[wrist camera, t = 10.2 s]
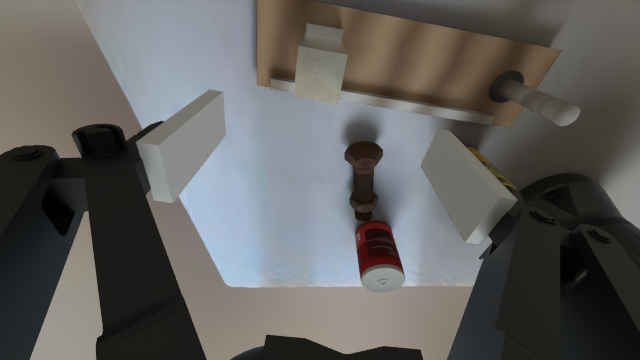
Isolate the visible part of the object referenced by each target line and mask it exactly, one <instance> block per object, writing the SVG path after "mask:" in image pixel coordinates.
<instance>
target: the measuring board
mask: <svg viewBox="0 0 640 360" xmlns="http://www.w3.org/2000/svg"><path fill="white" fill-rule="evenodd" d="M307 22H311V23H317V24H322V25H327V26H332V27H338V28H343V30H344V31H343V36H342V43H343V45H344V47H345V49H346V52H347V54H348V57H347V62H346V67H345V71H344V76H343V81H342V86H341V91H340V96H339V100H341V101H347V102H353V103H359V104H365V105H371V106H377V107H383V108H389V109H395V110H401V111H407V112H413V113H419V114H425V115H431V116H437V117H443V118H449V119H455V120H461V121H467V122H473V123H479V124H485V125H490V124H492V125H498V126H504V127H510V128H511V126H512V125H513V123H514V122H515V120H516V119H517V117H518V116H519V114H520V113H521V111H522V110H523V108H526V109H528V110H530V111H532V112H534V113H536V114H538V115H540V116H541V117H543V118H545V119H547V120H549V121H551V122H553V123H555V124H557V125H559V126H566V125H569V124H571V123H572V122H574V121H575V120H576V119H577V118H578V116H579V114H580V109H579V107H577V106H574V105H572V104H569V103H567V102H565V101H562V100H560V99H557V98H555V97H552V96H550V95H548V94H545V93H543V92H540V91H538V90H536V89H537V87H538V86H539V84H540V83H541V81H542V80H543V78H544V77H545V75H546V74H547V72H548V71H549V69H550V68H551V66H552V65H553V63H554V62H555V60H556V59H557V57H558V56H559V54H560V53H561V51H562V50H559V49H554V48H549V47H544V46H539V45H534V44H529V43H524V42H519V41H514V40H509V39H504V38H499V37H494V36H489V35H484V34H479V33H474V32H469V31H464V30H459V29H454V28H448V27H443V26H438V25H433V24H428V23H423V22H418V21H413V20H408V19H403V18H398V17H393V16H388V15H383V14H378V13H373V12H368V11H363V10H358V9H353V8H348V7H343V6H338V5H333V4H328V3H323V2H318V1H313V0H257V85H259V86H265V87H271V89H275V90H281V91H287V92H293V93H294V85H295V75H296V64H297V54H298V45H299V44H300V42H301V40H302V39H303V37H304V36H305V34H306V25H307Z"/></svg>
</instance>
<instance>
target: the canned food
mask: <svg viewBox="0 0 640 360" xmlns="http://www.w3.org/2000/svg"><path fill="white" fill-rule="evenodd" d="M355 239H356V247H357V255H358V263H359V271H360V278H361V282H362V285H363V287H364V288H365V289H367V290H369V291H372V292H377V293H385V292H391V291H394V290H396V289H398V288H399V287H401V286H402V285H403V283H404V281H405V276H404V271H403V267H402V264H401V261H400V257H399V254H398V251H397V247H396V244H395V241H394V237H393V234H392V231H391V229H390V228H389V226H388V225H387V224H385V223H383V222H380V221H369V222H366V223H364V224H362V225H361V226H359V228H358V229H357V231H356V235H355Z"/></svg>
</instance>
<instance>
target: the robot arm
mask: <svg viewBox="0 0 640 360" xmlns="http://www.w3.org/2000/svg"><path fill="white" fill-rule="evenodd" d="M225 135H226V131H225V116H224V101H223V92H221V91H215V90H208V91H207V92H205V93H204V94H203V95H201V96H200V97H198V98H197V99H196V100H194V101H193V102H191V103H190V104H189V105H187V106H186V107H184V108H183V109H182V110H180V111H179V112H177V113H176V114H175V115H173V116H172V117H170V118H169V119H168V120H166V121H165V122H164V121H160V122H157V123H154V124H151V125H149V126H148V127H146V128H145V129H143V131H140V132H139V133H137V135H134V136H133V137H131V138H130V139H128V140H127V141H126V140H125V137H124V134H123V131H122V129H121V128H120V127H119V126H116V125H111V124H94V125H88V126H84V127H81V128H78V129H77V130H75V131H73V133H72V137H73V139H74V142H75V144H76V146H77V148H78V150H79V152H80V154H81V156H82V158H59V156H58V154H57V152H56V150H55V149H54V148H52V147H49V146H45V145H33V146H22V147H17V148H14V149H12V150H10V151H7V152H5V153H3V154H1V155H0V360H30V357H31V354H32V352H33V349H34V346H35V344H36V341H37V338H38V336H39V333H40V330H41V327H42V325H43V322H44V319H45V317H46V314H47V311H48V308H49V306H50V303H51V301H52V298H53V295H54V292H55V290H56V287H57V284H58V282H59V279H60V276H61V274H62V271H63V268H64V265H65V263H66V260H67V257H68V255H69V252H70V249H71V246H72V244H73V241H74V238H75V236H76V233H77V230H78V228H79V225H80V222H81V220H82V217H83V214H84V212H85V211H88V212H89V219H90V228H91V236H92V244H93V251H94V260H95V268H96V276H97V284H98V292H99V300H100V308H101V316H102V323H103V333H102V335H101V336H99V337H98V338H97V342H96V359H97V360H206V357H205V354H204V351H203V349H202V346H201V343H200V341H199V338H198V335H197V333H196V330H195V327H194V324H193V322H192V319H191V316H190V314H189V311H188V308H187V305H186V303H185V300H184V298H183V296H182V294H181V291H180V288H179V286H178V283H177V280H176V278H175V275H174V272H173V269H172V267H171V264H170V261H169V258H168V256H167V253H166V250H165V247H164V245H163V242H162V239H161V237H160V234H159V231H158V228H157V225H156V223H155V220H154V217H153V215H152V212H151V209H150V206H149V204H148V201H147V198H146V194H147V193H148V192H149V191H150V190H151V192H152V196H153V199H154V201H161V202H169V203H173V202H174V201H175V199H176V198H177V197H178V196H179V194H180V193H181V192H182V190H183V189H184V188H185V187H186V185H187V184H188V183H189V182H190V180H191V179H192V178H193V176H194V175H195V174H196V173H197V171H198V170H199V169H200V167H201V166H202V165H203V164H204V162H205V161H206V160H207V158H208V157H209V156H210V155H211V153H212V152H213V151H214V150H215V148H216V147H217V146H218V144H219V143H220V142H221V141H222V139H223V138H224V137H225ZM421 168H422V169H423V171H424V173H425V175H426V176H427V178H428V180H429V181H430V183H431V185H432V187H433V188H434V190H435V192H436V193H437V195H438V197H439V199H440V200H441V202H442V204H443V206H444V207H445V209H446V211H447V212H448V214H449V216H450V218H451V219H452V221H453V223H454V224H455V226H456V228H457V230H458V231H459V233H460V235H461V236H462V238H463V240H464V242H465V243H473V244H481V243H482V242H483V241H484V240H485V239H486V237H487V236H489V237H490V238H491V240H492V241H493V242H492V243H491V245H490V246H489V247H488V248H487V249H486V250H485V251H484V253H483V254H482V255H481V256H480V257H479V259H482V258H484V259H483V262H482V265H481V268H480V270H479V273H478V276H477V279H476V281H475V284H474V287H473V290H472V293H471V295H470V298H469V301H468V303H467V307H466V309H465V312H464V315H463V317H462V320H461V323H460V326H459V328H458V331H457V334H456V337H455V339H454V342H453V345H452V348H451V350H450V353H449V356H448V359H447V360H640V229H639V228H637V227H636V226H634V225H633V224H632V223H630V222H629V221H627V220H626V219H625V218H624V217H623V216H622V215H621V214H620V212H619V211H618V209H617V208H616V206H615V205H614V203H613V202H612V200H611V199H610V197H609V196H608V195H607V193H606V192H605V190H604V189H603V188H602V187H601V186H600V185H598V184H597V183H595V182H594V181H593V180H591V179H590V178H588V177H586V176H583V175H579V174H562V175H556V176H552V177H549V178H546V179H543V180H540V181H538V182H536V183H534V184H532V185H530V186H528V187H527V188H525V189H524V190H522V191H521V194H522V197H523V200H524V202H525V205H526V206H524V205H523V204H522V203H521V202H520V201H519V200H518V199H517V198H516V197H515V196H514V194H513V193H512V192H510V191H509V189H508V188H507V187H506V186H504V184H503V183H502V182H501V181H500V180H499V179H498V178H496V177H495V176H494V175H493V174H492V173H491V172H490V171H489V170H488V169H487V168H486V167H485V166H484V165H483V164H482V163H481V162H480V161H479V160H478V159H477V158H476V157H475V156H474V155H473V154H472V153H471V152H470V151H469V150H468V149H467V148H466V147H465V146H464V145H463V144H462V143H461V141H460V140H459V139H458V138H457V137H456V136H455V135H454V134H453V133H452V132H451V131H448V130H443V129H438V130H437V132H436V135H435V137H434V139H433V141H432V143H431V145H430V147H429V149H428V151H427V153H426V155H425V157H424V159H423V161H422V164H421ZM231 360H423V358H422V354H421V350H418V349H407V348H398V347H388V346H383V347H378V348H374V349H370V350H366V351H361V352H356V353H352V354H342V353H340V352H338V351H335V350H333V349H330V348H328V347H325V346H323V345H320V344H318V343H315V342H313V341H311V340H308V339H305V338H296V337H285V336H275V335H266V339H265V345H264V346H261V347H257V348H253V349H251V350H248V351H245V352H243V353H241V354H239V355H237V356H235V357H234V358H232V359H231Z"/></svg>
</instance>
